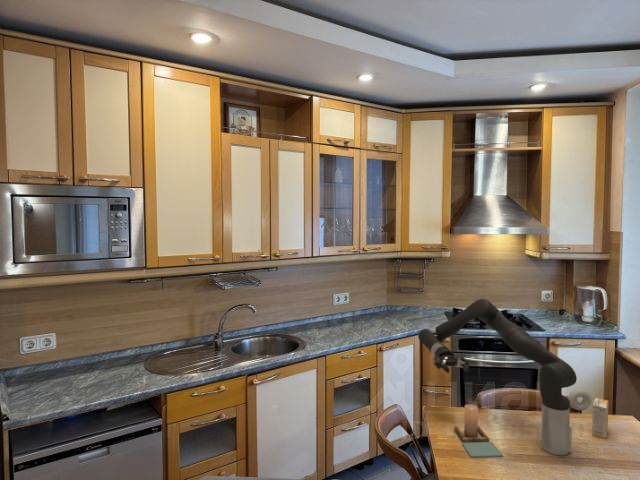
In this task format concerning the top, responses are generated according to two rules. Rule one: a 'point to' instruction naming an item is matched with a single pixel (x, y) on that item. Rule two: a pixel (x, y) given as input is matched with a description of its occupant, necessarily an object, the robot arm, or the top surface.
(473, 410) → the tall tan cylinder
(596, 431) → the supplement box
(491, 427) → the top surface
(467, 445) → the mat
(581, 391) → the grey round disc
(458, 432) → the holder
